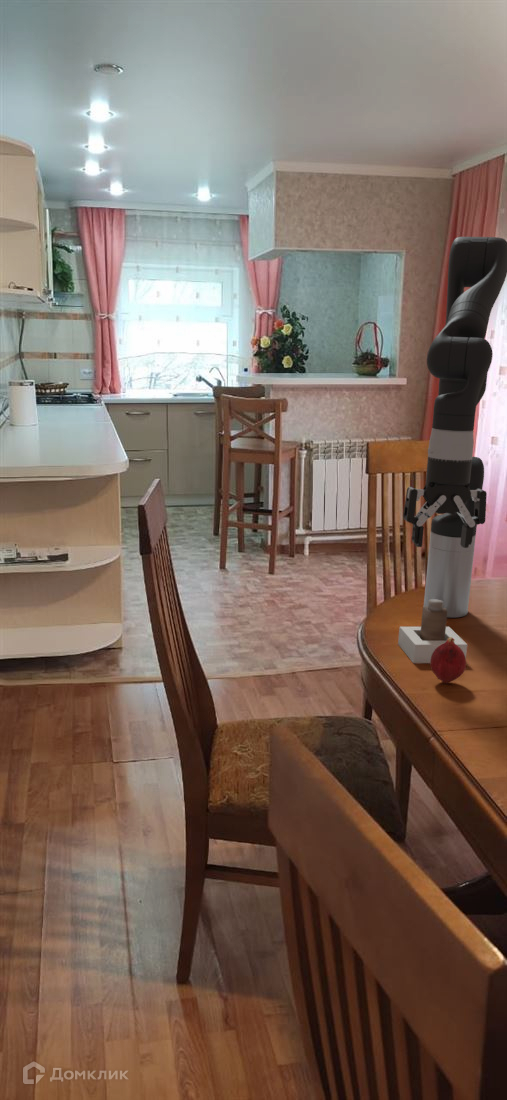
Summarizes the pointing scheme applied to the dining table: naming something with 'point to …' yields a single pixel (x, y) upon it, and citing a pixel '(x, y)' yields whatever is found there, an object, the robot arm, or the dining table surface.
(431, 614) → the pepper mill
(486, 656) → the dining table surface
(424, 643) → the holder
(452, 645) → the onion
